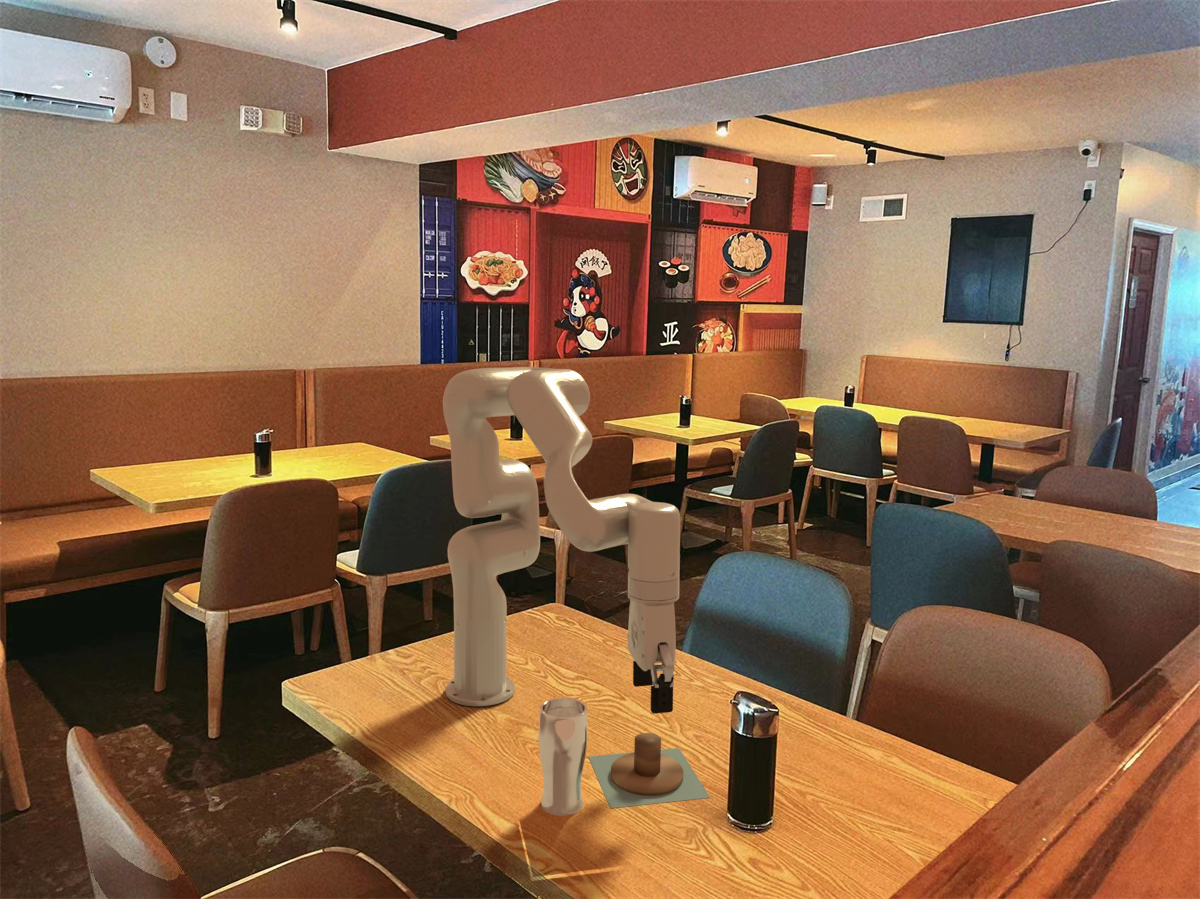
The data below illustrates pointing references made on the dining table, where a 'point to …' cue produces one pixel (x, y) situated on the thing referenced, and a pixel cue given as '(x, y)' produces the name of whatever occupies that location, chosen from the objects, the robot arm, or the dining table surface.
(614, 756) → the rubber mat
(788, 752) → the dining table surface
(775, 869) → the dining table surface
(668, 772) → the walnut lid
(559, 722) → the beer glass
